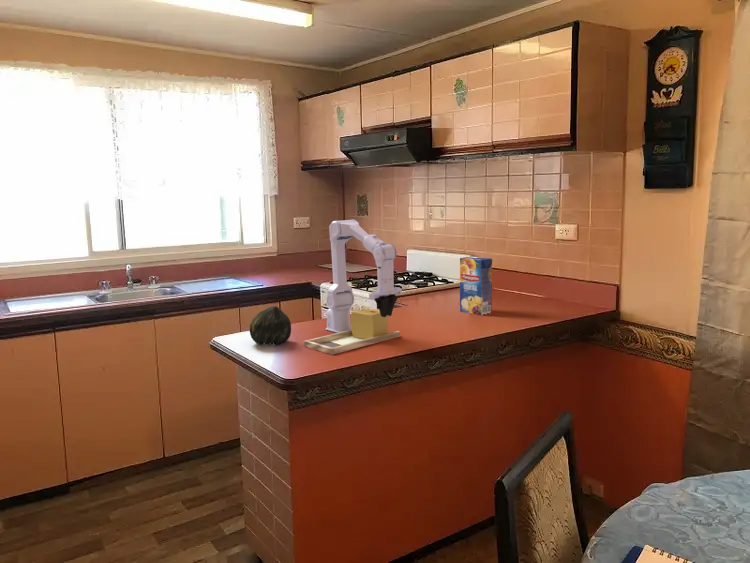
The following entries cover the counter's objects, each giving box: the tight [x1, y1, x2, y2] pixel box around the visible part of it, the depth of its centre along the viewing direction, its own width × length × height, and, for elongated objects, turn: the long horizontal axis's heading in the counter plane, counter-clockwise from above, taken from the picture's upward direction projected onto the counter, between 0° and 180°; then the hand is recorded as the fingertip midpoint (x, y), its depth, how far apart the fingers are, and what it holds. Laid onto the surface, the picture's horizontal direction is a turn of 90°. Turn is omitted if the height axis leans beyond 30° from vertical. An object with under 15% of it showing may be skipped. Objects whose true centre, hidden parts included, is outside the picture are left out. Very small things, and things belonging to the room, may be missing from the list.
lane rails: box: [303, 330, 401, 355], centre depth 224 cm, size 16×33×2 cm, turn 133°
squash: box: [249, 305, 292, 346], centre depth 222 cm, size 14×15×15 cm
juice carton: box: [459, 256, 493, 316], centre depth 267 cm, size 12×8×24 cm, turn 42°
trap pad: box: [319, 341, 340, 348], centre depth 217 cm, size 13×8×1 cm, turn 43°
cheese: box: [350, 308, 389, 339], centre depth 229 cm, size 10×11×10 cm
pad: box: [328, 335, 364, 346], centre depth 224 cm, size 13×12×1 cm
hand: (386, 316), depth 218 cm, fingers open, 2 cm apart
